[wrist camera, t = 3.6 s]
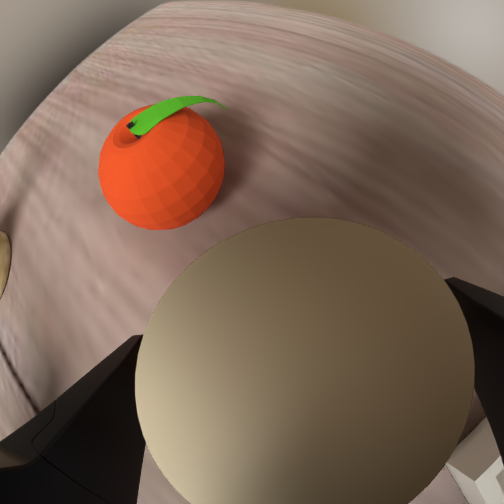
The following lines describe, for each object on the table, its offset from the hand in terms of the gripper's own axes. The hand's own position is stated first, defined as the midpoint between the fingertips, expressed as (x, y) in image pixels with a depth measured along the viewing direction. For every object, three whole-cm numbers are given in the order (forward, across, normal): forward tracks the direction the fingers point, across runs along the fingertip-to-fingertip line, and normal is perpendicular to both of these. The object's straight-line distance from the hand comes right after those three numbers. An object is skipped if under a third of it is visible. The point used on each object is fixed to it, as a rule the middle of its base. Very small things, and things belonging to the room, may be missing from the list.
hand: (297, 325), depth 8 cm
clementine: (+12, +5, -2) cm, 13 cm away
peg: (+4, 0, +6) cm, 7 cm away
